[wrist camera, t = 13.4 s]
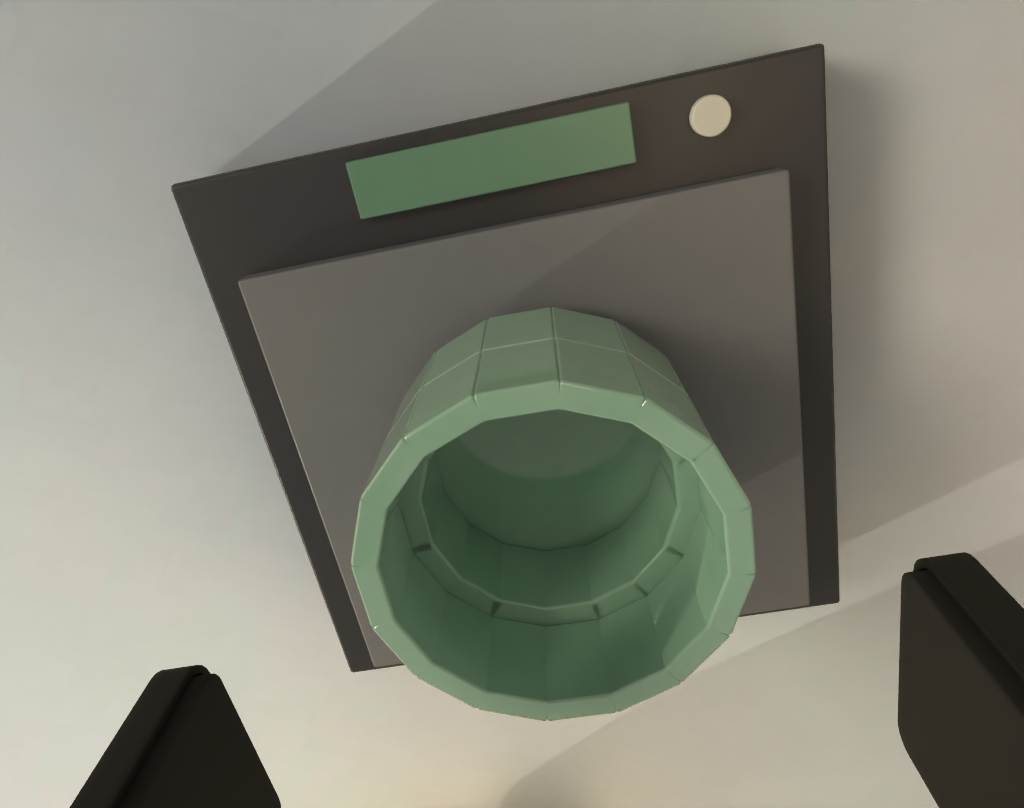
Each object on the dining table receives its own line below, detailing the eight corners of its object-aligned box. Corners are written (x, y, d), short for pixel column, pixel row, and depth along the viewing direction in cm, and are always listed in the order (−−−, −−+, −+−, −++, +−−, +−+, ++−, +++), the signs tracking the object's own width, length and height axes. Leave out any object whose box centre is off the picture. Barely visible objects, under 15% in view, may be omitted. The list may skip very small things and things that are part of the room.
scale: (206, 176, 17) (155, 188, 15) (791, 49, 16) (837, 40, 14) (365, 627, 23) (345, 689, 20) (813, 560, 21) (850, 618, 19)
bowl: (367, 331, 16) (301, 423, 11) (678, 275, 15) (742, 349, 11) (437, 582, 19) (407, 739, 14) (705, 544, 18) (765, 695, 13)
